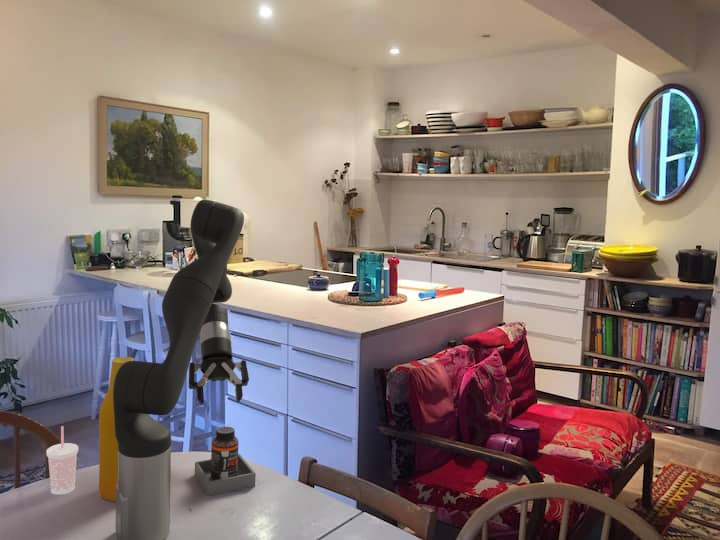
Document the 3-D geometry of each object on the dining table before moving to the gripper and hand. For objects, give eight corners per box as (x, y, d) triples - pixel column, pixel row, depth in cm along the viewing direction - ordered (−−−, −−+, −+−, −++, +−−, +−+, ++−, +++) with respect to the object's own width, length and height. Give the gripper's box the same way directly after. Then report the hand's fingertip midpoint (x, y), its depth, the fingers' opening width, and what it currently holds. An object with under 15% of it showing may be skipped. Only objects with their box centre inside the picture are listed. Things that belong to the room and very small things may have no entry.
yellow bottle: (94, 487, 128) (93, 356, 124) (138, 477, 134) (138, 351, 130) (105, 507, 121) (105, 368, 117) (151, 495, 127) (153, 362, 123)
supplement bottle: (231, 485, 131) (232, 436, 130) (205, 481, 132) (206, 433, 131) (241, 473, 137) (243, 426, 136) (217, 469, 138) (218, 423, 137)
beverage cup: (40, 491, 126) (39, 427, 124) (66, 479, 131) (65, 418, 129) (59, 499, 123) (58, 434, 121) (85, 487, 128) (84, 425, 126)
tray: (208, 496, 127) (208, 482, 127) (194, 474, 136) (194, 462, 136) (255, 486, 133) (255, 473, 132) (239, 465, 142) (239, 453, 141)
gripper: (187, 336, 147) (190, 397, 138) (246, 334, 152) (252, 393, 143) (185, 351, 152) (188, 411, 143) (242, 349, 157) (248, 406, 148)
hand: (220, 402), depth 143 cm, fingers open, 8 cm apart
